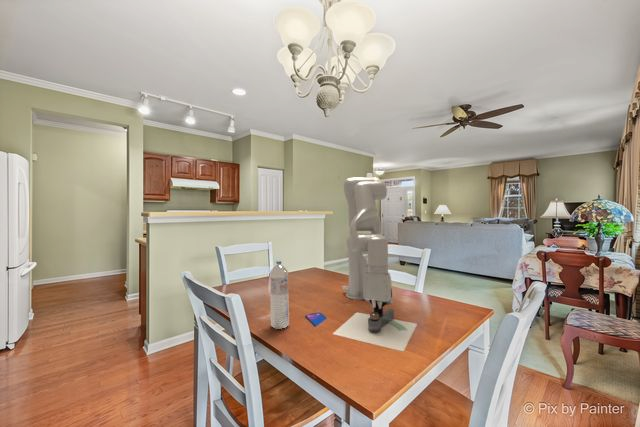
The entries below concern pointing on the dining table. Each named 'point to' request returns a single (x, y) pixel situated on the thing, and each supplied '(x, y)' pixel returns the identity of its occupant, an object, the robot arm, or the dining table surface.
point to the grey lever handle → (379, 320)
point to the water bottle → (279, 296)
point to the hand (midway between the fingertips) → (378, 317)
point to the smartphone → (316, 318)
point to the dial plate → (389, 336)
